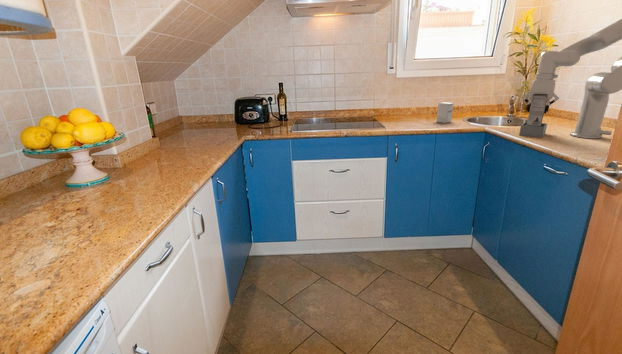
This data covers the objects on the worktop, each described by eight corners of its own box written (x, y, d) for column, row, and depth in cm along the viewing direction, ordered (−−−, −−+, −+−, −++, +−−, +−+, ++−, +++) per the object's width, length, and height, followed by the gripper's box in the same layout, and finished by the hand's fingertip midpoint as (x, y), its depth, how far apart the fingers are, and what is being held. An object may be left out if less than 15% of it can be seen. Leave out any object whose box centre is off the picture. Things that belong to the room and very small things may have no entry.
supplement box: (446, 123, 206) (448, 103, 202) (435, 121, 211) (438, 102, 207) (451, 121, 211) (454, 102, 206) (441, 120, 216) (443, 102, 212)
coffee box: (527, 122, 172) (534, 92, 167) (541, 123, 168) (548, 93, 163) (526, 125, 165) (533, 94, 160) (540, 126, 161) (548, 94, 156)
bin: (545, 133, 170) (547, 123, 168) (542, 137, 161) (544, 127, 159) (523, 131, 176) (525, 121, 174) (519, 135, 167) (521, 125, 165)
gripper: (566, 77, 156) (557, 113, 162) (526, 76, 167) (518, 110, 173) (565, 77, 151) (556, 114, 157) (523, 77, 161) (516, 111, 167)
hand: (536, 112), depth 165 cm, fingers closed on coffee box, 6 cm apart
